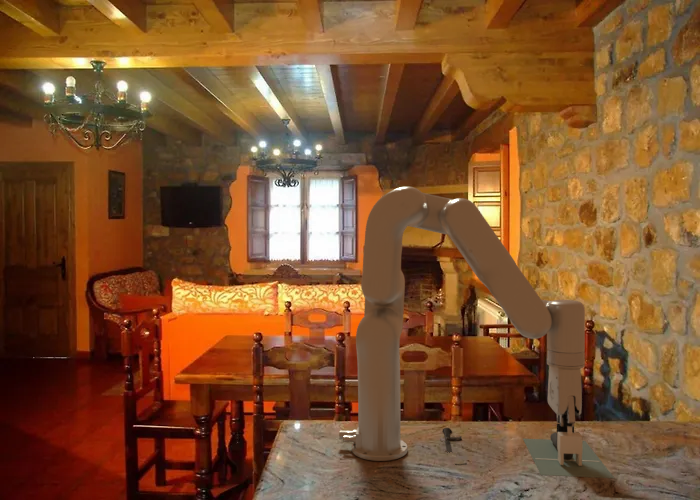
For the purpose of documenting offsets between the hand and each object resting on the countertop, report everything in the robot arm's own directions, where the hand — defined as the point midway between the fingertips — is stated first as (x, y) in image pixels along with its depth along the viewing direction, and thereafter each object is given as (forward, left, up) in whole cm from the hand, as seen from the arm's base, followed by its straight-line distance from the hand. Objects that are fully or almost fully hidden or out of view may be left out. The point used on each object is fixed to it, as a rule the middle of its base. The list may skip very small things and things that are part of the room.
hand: (565, 443), depth 120 cm
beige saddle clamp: (0, -3, -3) cm, 4 cm away
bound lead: (0, +4, -3) cm, 5 cm away
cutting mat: (0, +1, -4) cm, 4 cm away
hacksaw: (-20, +5, -5) cm, 21 cm away
